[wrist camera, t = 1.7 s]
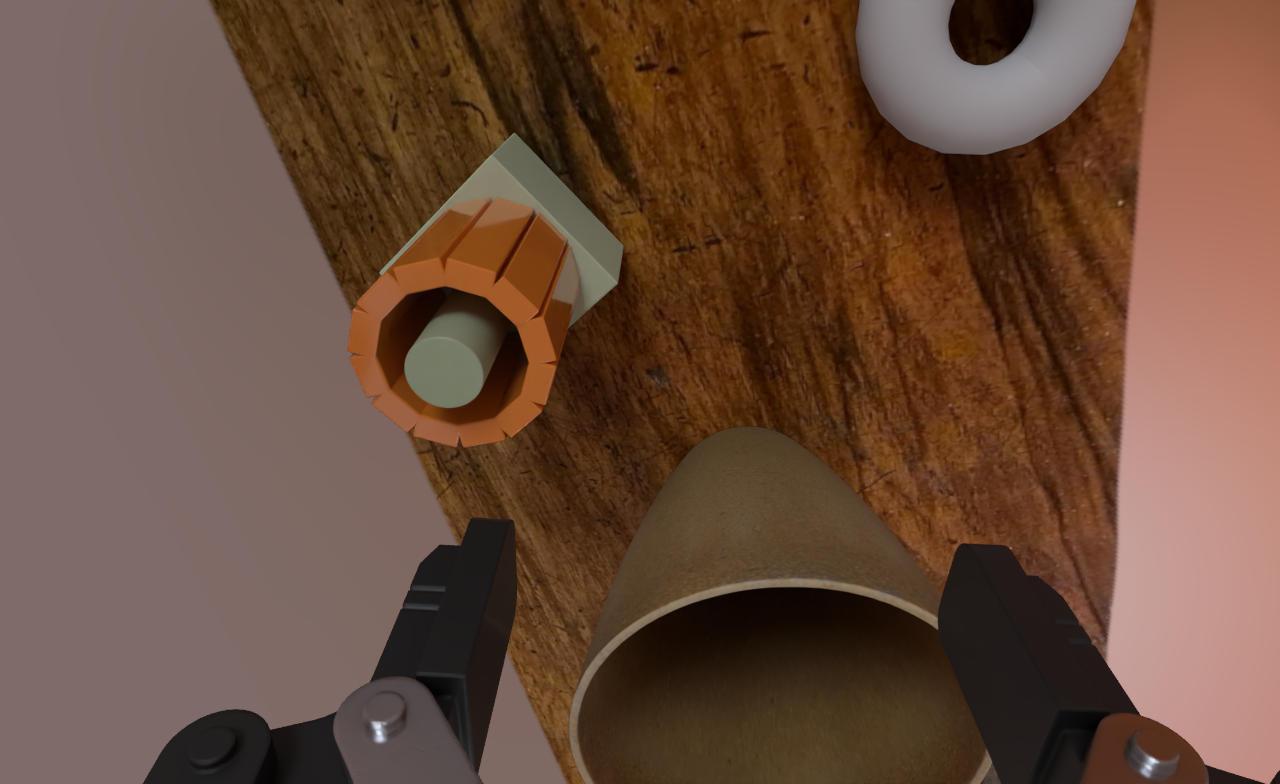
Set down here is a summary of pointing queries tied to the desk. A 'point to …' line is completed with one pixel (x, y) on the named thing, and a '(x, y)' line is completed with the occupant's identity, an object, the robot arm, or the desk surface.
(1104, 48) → the donut
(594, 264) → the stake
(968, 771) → the plant pot
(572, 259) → the pen holder
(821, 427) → the desk surface
